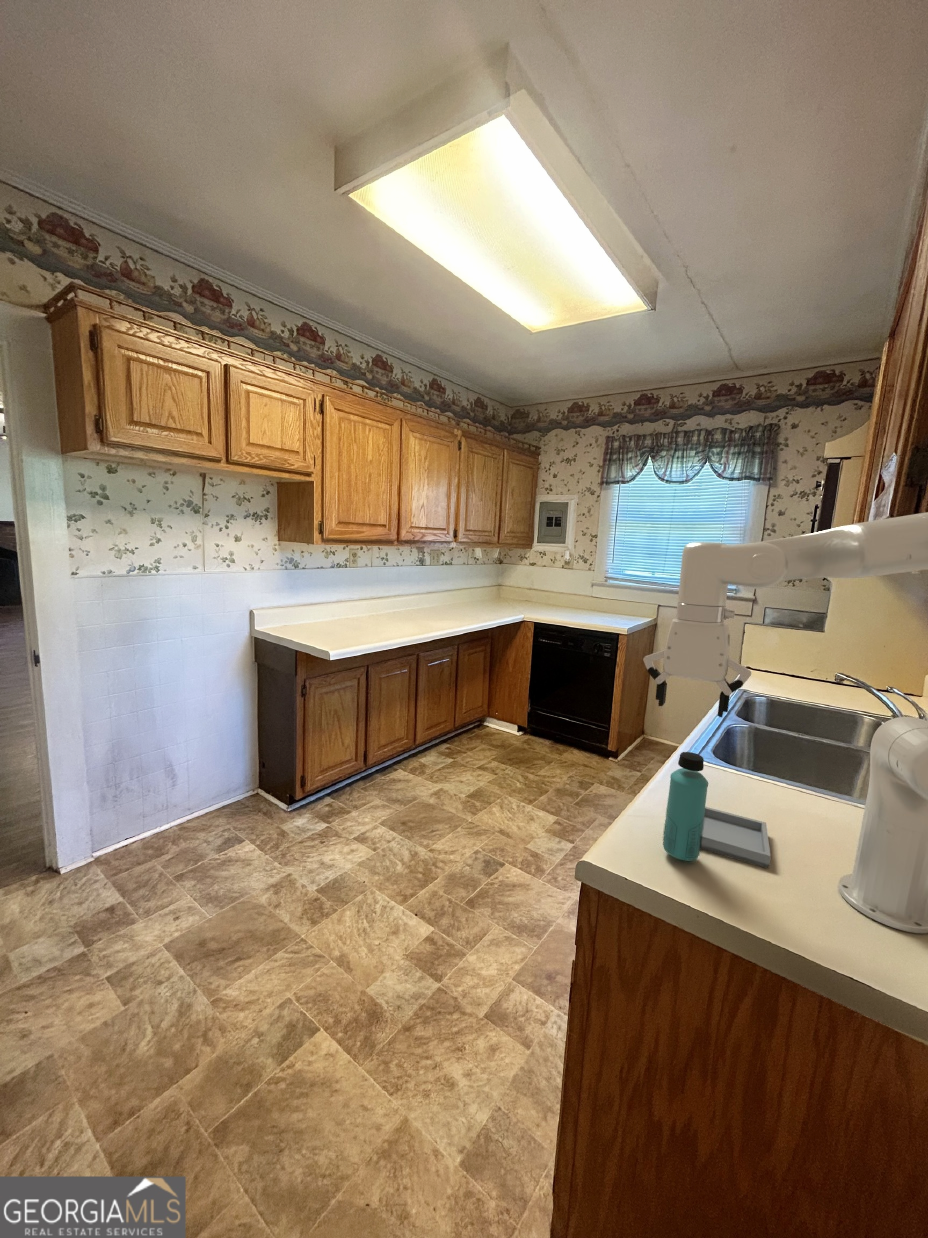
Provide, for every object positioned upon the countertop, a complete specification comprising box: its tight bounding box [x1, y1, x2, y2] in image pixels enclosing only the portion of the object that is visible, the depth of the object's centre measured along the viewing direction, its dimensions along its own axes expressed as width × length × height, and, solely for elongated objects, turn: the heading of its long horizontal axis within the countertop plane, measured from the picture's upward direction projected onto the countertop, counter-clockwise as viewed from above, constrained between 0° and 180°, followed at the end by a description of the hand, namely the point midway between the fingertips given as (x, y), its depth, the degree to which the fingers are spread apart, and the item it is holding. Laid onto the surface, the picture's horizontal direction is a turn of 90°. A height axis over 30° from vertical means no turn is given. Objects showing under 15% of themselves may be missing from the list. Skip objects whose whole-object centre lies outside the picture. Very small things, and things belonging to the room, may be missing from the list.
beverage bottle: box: [661, 751, 709, 862], centre depth 90 cm, size 6×7×20 cm
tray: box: [700, 806, 772, 870], centre depth 98 cm, size 13×13×2 cm
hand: (690, 709), depth 89 cm, fingers open, 9 cm apart
